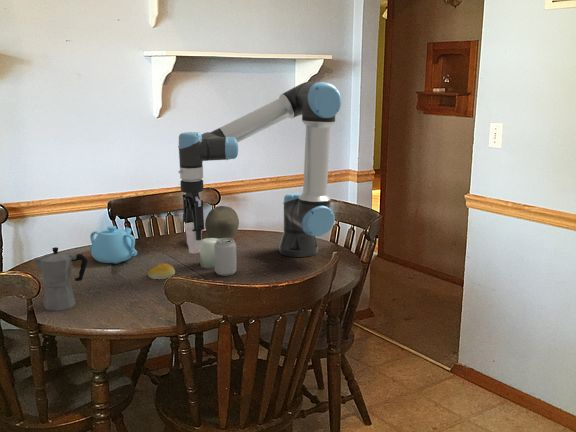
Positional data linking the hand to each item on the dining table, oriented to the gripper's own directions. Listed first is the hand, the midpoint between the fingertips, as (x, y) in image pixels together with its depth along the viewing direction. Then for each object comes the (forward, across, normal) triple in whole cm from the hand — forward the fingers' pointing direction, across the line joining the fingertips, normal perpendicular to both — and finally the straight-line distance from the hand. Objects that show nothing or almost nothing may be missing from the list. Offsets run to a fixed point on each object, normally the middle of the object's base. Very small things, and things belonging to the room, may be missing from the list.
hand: (194, 246), depth 214 cm
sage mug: (+10, -8, +9) cm, 16 cm away
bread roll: (+10, -4, -11) cm, 16 cm away
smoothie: (+2, 0, 0) cm, 2 cm away
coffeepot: (+10, +9, -45) cm, 47 cm away
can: (+11, +3, +10) cm, 15 cm away
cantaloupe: (+11, -33, +24) cm, 42 cm away
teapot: (+10, -32, -19) cm, 38 cm away
